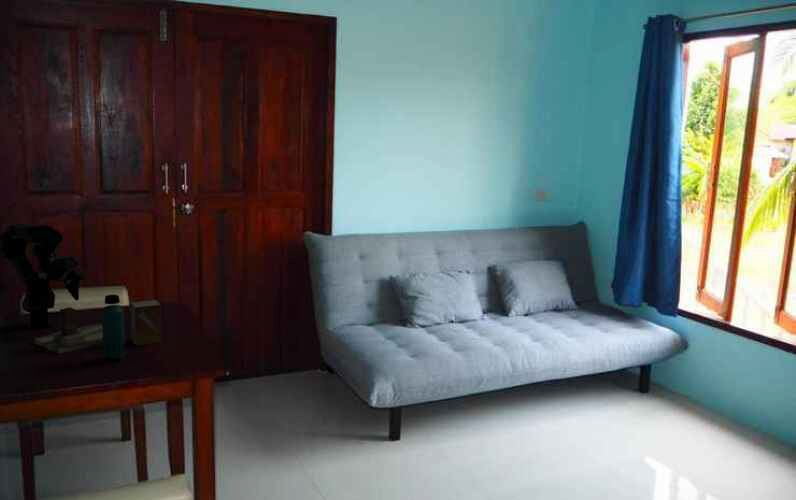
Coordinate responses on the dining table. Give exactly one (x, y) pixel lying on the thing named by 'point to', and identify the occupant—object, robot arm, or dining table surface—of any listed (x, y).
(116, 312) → the beverage bottle
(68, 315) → the block
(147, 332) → the small box
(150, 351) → the dining table surface
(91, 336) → the board
